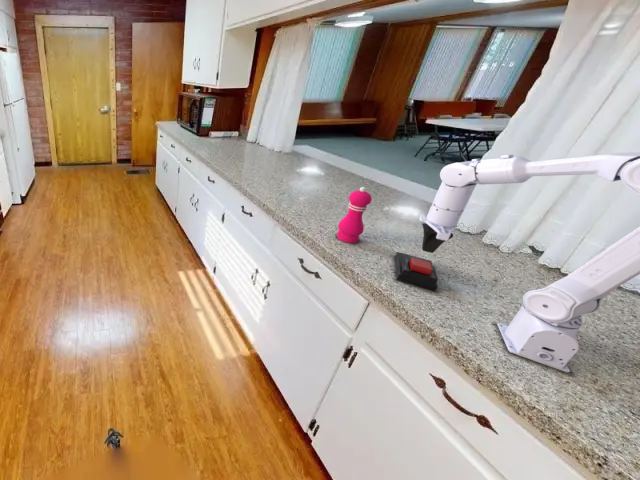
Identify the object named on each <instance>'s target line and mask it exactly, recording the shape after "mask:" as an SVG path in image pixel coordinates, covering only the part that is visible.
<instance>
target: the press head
mask: <svg viewBox="0 0 640 480" xmlns="http://www.w3.org/2000/svg"><path fill="white" fill-rule="evenodd" d="M409 267H410V270H414V271H417V272H421V273H424V274H428V275H430V273H431V271H432V268H431V263H430V262H426V261H423V260H419V259H415V258H411V260H410V262H409Z"/></svg>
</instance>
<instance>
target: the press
mask: <svg viewBox="0 0 640 480" xmlns="http://www.w3.org/2000/svg"><path fill="white" fill-rule="evenodd" d="M411 258H415V259H419V260H423V261H426V262H430V263H431V268H432V271H431V273H430V275H428V274H424V273H421V272H417V271H414V270H410V267H409V262H410V260H411ZM394 263H395V275H396V281H397V282H402V283H405V284H407V285H411V286H415V287H418V288H421V289H424V290H428V291H431V292H436V291H437V288H438V286H439V285H438V279H439V278H438V274H437V271H436V267H435V266H434V265H433V262H432V260H430V259H426V258H422V257H419V256H415V255H411V254H407V253H403V252H399V251H396V252H395V256H394Z"/></svg>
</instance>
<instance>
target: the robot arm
mask: <svg viewBox="0 0 640 480" xmlns="http://www.w3.org/2000/svg"><path fill="white" fill-rule="evenodd" d="M578 175H579V176H580V175H596V176H598V177H600V178H602V179H603V180H607V181H609V182H618V181H621V182H622V183H623V185H624V186H625V187H627V189H629V190H630V191H632V192H633V193H634V194H636V195H637V196H638V197H640V151H639V152H637V151H635V152H634V151H633V152H614V153H613V152H612V153H603V154H602V153H601V154H595V155H594V154H593V155H585V156H573V157H565V158H555V159H545V160H536V161H533V160H529V159H528V158H526V157H523V156H514V154H505V155H501V156H500V158H491V159H481V158H473V159H471V160H468V161H461V162H453V163H449V164H446V165H445V166H443V167H442V168H441V169H440V172H439V178H440V181H441V183H440V185H439V187H438V190H437V192H436V194H435V196H434V199H433V201H432V203H431V206H430V208H429V210H428V213H427V214H426V216H419V218H418V220H419V221H420V222H423V223H421V225H422V229H423V237H422V243H421V248H422V249H421V250H422V251H423V252H427V253H431V254H434V252H436V251H437V249H438V248H439V247H440V246H442V244H444V243H445V242H448V241H449V240H450V239H453V237H454V234H453V232H455V230H456V229H457V228H458V224H459V221H460V219H461V218H462V215H463V214H464V211H465V209H466V207H467V205H468V203H469V201H470V198H471V196H472V194H473V192H474V191H475V188H476V187H477V185H481V186H482V185H502V184H524V183H525V182H527V181H528V180H530V179H531V178H533V177H551V176H578ZM639 275H640V226H638V227H636V228H635V229H634V230H632V231H631V232H629V233H628V234H626V235H625V236H623V237H622V238H620V239H618V240H617V241H616V242H614V243H613V244H611V245H610V246H608V247H607V248H605V249H604V250H603V251H600V253H599V254H597V255H596V256H594V257H593V258H590V260H588V261H587V262H586V263H583V264H582V265H581V266H580V267H578V268H576V269H575V270H573V271H572V272H571V273H569V274H568V275H566V276H564V277H562V278H560V279H558V280H556V281H554V282H552V283H550V284H548V285H547V286H545V287H542V288H538V289H532V290H528V291H527V292H525V294H524V295H523V297H522V303H523V304H522V305H521V307H520V308H519V309H518V311H517V312H516V313H515V315H514V317H513V318H512V319H511V321H510V323H509V324H508V325H507V324H504V323H500V322H497V324H496V325H497V328H498V330H499V332H500V334H501V337H502V340H503V341H504V343H505V346H506V348H507V350H508V352H509V353H511V354H514V355H516V356H520V357H521V358H525V359H528V360H530V361H533V362H536V363H538V364H539V363H540V364H541V365H544V366H548V367H551V368H553V369H556V370H558V371H562V372H564V373H570V372H571V370H570V368H569V366H568V363H569V362H570V361H571V360H572V359H573V358H574V356H575V355H576V354H577V352H578V351H579V350H580V345H579V344H580V343H579V342H578V340H577V333H578V331H579V329H580V328H581V327H582V326H583V317H582V316H583V315H586V314H591V313H594V312H596V311H597V310H599V309H600V307H601V303H602V300H604V299H605V298H606V297H607V296H609V295H610V294H611V292H612V291H614V290H616V289H617V288H619V287H620V286H622V285H624V284H626V283H628V282H629V281H631V280H632V279H634V278H636V277H637V276H639Z"/></svg>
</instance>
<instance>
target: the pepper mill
mask: <svg viewBox="0 0 640 480" xmlns="http://www.w3.org/2000/svg"><path fill="white" fill-rule="evenodd" d="M372 199H373V198H372V195H371V194H370V193H369V192H367V188H366V187H365V186H361V187H359V189H358V190H354V191H352V192H351V193H350V194H349V196H348V200H349V202H348V205H347V206H348V211H347V214H346V215H345V216H344V217H343V218H342V219H341V220H340V221H339V222H338V226H337V228H338V231H337V233H336V237H337V238H338V239H339V240H341V241H342V242H344V243H349V244H357V243H358V242H359V239H360V235H362V234H363V233H364V230H365V226H364V222H363V214H364V212H366V211H367V208H368V205H370V204H371V203H372Z"/></svg>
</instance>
